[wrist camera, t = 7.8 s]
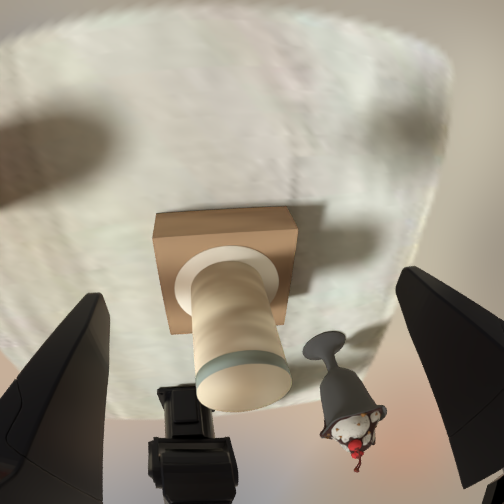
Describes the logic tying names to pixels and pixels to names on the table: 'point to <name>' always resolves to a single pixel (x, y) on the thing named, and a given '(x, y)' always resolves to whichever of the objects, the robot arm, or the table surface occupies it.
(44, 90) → the table surface
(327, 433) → the sundae
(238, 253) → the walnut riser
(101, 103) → the table surface
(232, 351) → the birch cylinder
